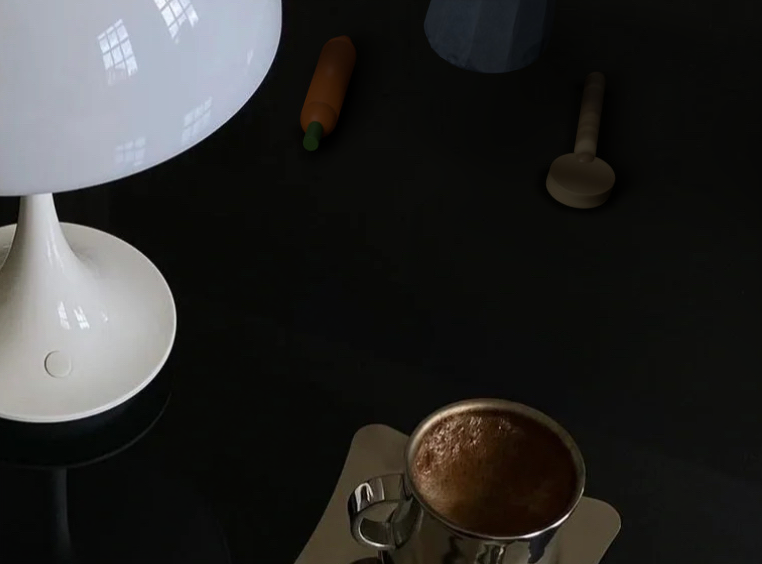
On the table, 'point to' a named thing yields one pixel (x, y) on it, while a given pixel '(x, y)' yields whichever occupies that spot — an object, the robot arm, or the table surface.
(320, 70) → the carrot
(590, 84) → the spoon
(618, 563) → the table surface
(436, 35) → the moka pot
